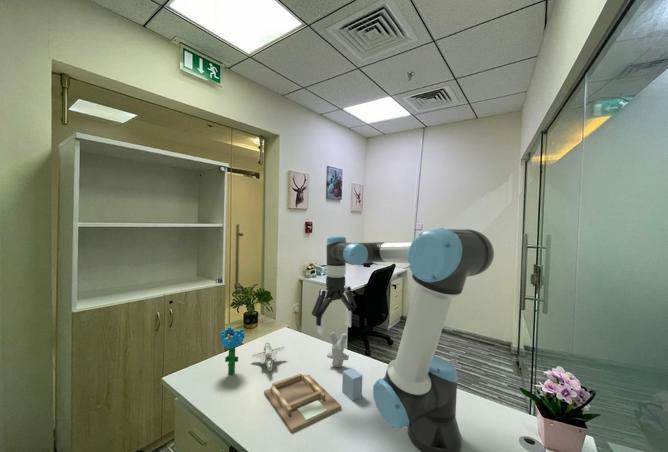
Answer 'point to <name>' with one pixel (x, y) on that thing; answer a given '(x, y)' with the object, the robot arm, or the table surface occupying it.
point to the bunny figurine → (338, 350)
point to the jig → (300, 401)
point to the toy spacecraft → (268, 355)
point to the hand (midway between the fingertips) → (334, 330)
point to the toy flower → (231, 345)
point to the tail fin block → (352, 384)
